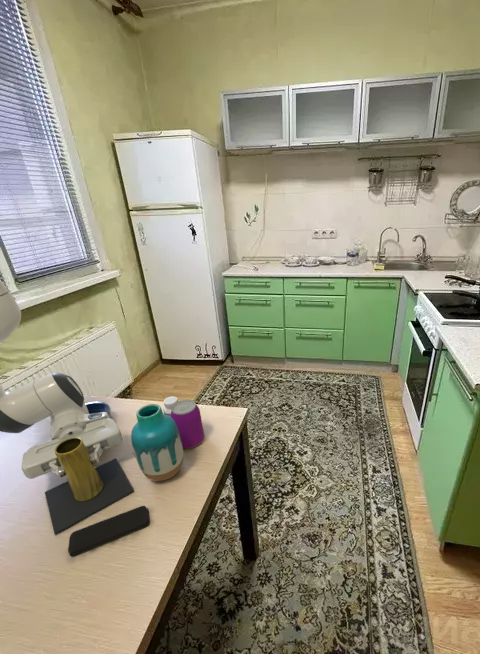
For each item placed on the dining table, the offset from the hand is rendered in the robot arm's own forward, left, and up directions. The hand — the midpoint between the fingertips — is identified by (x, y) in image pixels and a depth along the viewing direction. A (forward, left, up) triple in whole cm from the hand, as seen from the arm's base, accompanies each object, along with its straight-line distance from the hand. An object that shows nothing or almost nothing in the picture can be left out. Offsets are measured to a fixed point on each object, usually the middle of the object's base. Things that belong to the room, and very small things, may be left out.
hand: (78, 467), depth 72 cm
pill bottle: (+26, +11, -9) cm, 30 cm away
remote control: (+1, -13, -9) cm, 16 cm away
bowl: (+6, +28, -9) cm, 30 cm away
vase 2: (+16, -5, -9) cm, 19 cm away
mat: (0, +1, -9) cm, 9 cm away
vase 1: (0, +1, -8) cm, 8 cm away
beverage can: (+26, +1, -9) cm, 27 cm away
